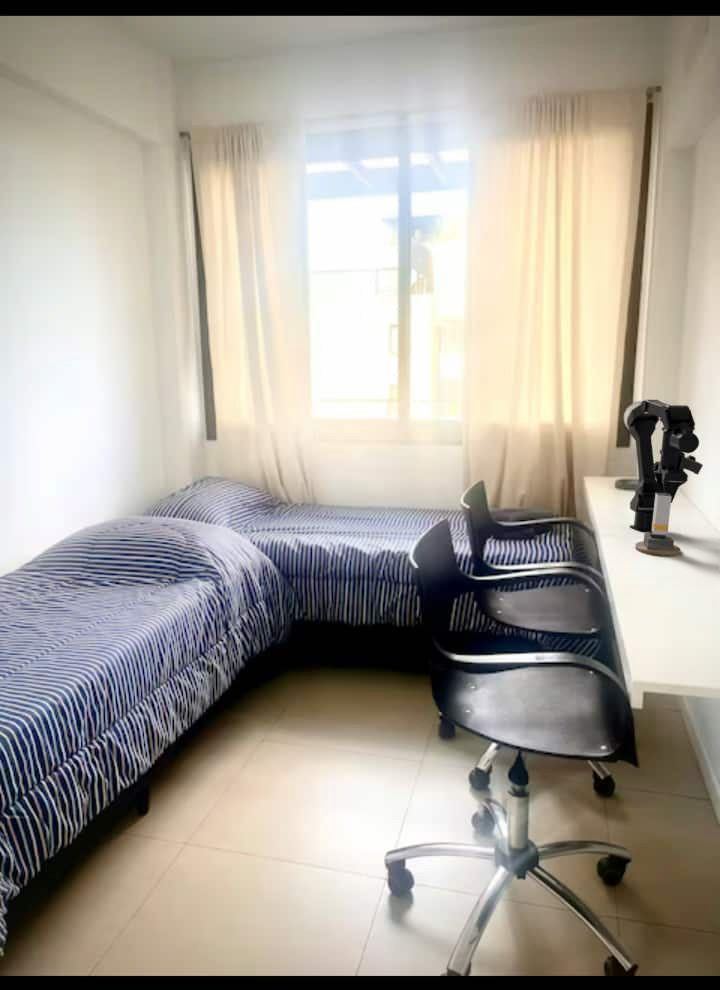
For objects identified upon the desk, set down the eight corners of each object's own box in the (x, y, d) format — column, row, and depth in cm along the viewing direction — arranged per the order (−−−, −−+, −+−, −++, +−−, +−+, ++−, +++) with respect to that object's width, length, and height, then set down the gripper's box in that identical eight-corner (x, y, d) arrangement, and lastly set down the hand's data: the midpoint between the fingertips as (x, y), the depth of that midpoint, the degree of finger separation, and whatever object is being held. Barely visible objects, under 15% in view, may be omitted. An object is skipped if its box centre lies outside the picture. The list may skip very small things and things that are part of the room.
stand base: (632, 542, 207) (633, 530, 206) (675, 545, 205) (676, 532, 204) (638, 554, 196) (640, 541, 195) (684, 557, 193) (685, 544, 192)
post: (651, 530, 201) (655, 492, 199) (664, 531, 200) (669, 493, 198) (653, 533, 198) (657, 495, 195) (667, 534, 197) (671, 496, 194)
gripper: (710, 453, 192) (703, 508, 196) (694, 444, 210) (688, 494, 213) (667, 452, 195) (661, 505, 198) (655, 443, 212) (650, 492, 216)
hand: (666, 499), depth 206 cm, fingers open, 9 cm apart
